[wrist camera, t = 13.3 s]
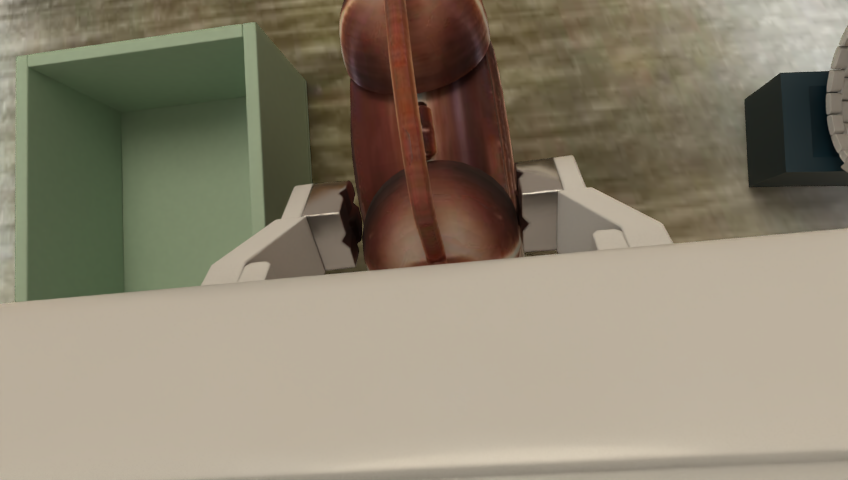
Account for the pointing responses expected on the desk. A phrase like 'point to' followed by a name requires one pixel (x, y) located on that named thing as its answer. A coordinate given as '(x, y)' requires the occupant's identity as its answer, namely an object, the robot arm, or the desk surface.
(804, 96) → the watch
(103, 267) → the storage box
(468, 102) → the alarm clock
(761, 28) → the desk surface
